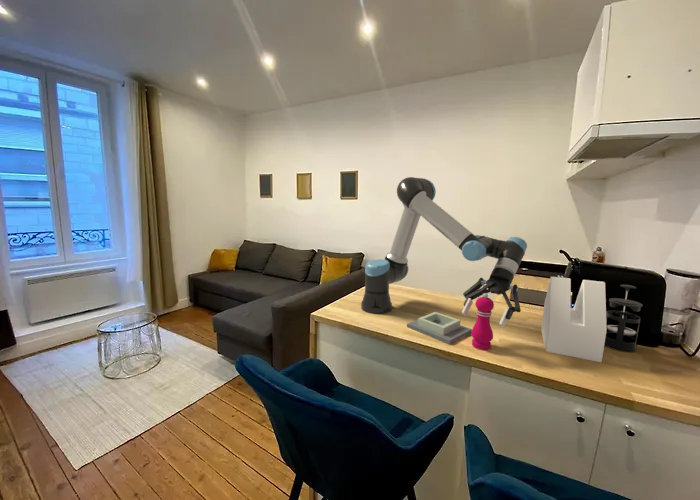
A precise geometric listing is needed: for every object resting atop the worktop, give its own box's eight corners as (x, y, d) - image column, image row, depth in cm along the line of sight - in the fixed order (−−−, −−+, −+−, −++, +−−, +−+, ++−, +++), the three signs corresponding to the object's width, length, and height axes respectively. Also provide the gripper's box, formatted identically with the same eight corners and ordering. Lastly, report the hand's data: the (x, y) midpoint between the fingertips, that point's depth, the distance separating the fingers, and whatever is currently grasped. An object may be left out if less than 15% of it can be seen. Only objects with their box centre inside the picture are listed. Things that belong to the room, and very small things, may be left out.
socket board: (406, 326, 125) (407, 316, 125) (429, 317, 136) (430, 308, 135) (449, 344, 110) (450, 332, 110) (471, 332, 120) (472, 322, 120)
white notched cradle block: (601, 362, 99) (612, 289, 95) (546, 351, 106) (554, 283, 102) (588, 339, 116) (597, 276, 112) (541, 331, 123) (548, 271, 119)
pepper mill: (466, 341, 113) (470, 290, 109) (485, 341, 113) (489, 290, 110) (476, 351, 105) (480, 296, 102) (496, 350, 106) (501, 296, 103)
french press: (635, 355, 103) (646, 291, 99) (600, 346, 110) (609, 285, 106) (636, 344, 111) (646, 284, 108) (603, 336, 118) (612, 279, 114)
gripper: (542, 285, 106) (521, 336, 99) (475, 272, 125) (453, 315, 118) (538, 272, 102) (516, 325, 95) (469, 261, 121) (446, 305, 114)
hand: (481, 320), depth 106 cm, fingers open, 13 cm apart
